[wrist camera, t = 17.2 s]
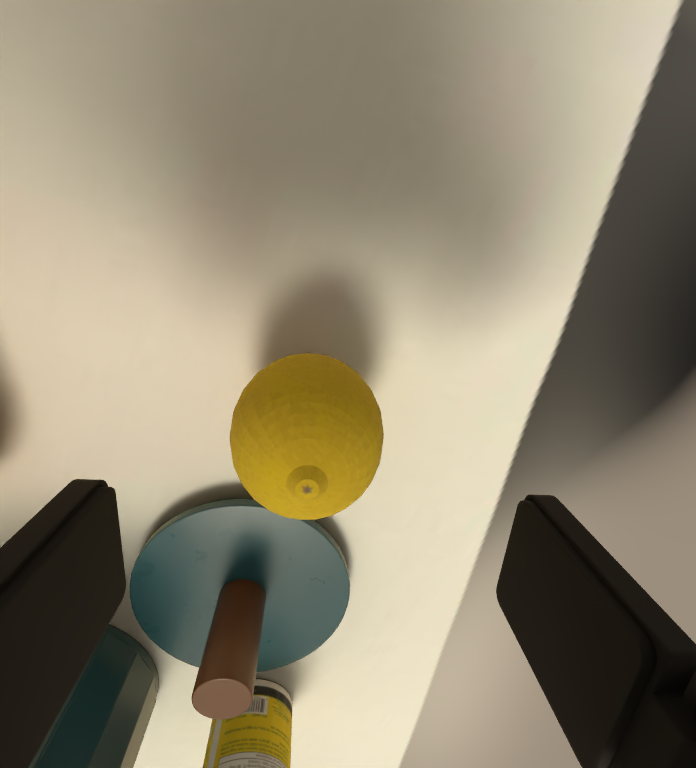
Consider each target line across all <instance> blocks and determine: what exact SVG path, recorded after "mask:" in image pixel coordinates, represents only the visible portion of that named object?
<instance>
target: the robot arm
mask: <svg viewBox="0 0 696 768" xmlns="http://www.w3.org/2000/svg"><path fill="white" fill-rule="evenodd" d="M125 589H126V578H125V570H124V561H123V553H122V544H121V535H120V527H119V518H118V510H117V501H116V493H115V490H114V488H112V487H108V485H107V483H106V481H104V480H87V479H76V480H73V481H71V482H70V483H69V484H68V485H67V486H66V487H65V488H64V489H63V490H61V491H60V492H59V493H58V494H57V495H56V496H55V497H54V498H53V499H52V500H51V501H50V502H49V503H48V504H47V505H46V506H44V507H43V508H42V509H41V510H40V511H39V512H38V513H37V514H36V515H35V516H34V517H33V518H32V519H31V520H30V521H29V522H27V523H26V524H25V525H24V526H23V527H22V528H21V529H20V530H19V531H18V532H17V533H16V534H15V535H14V536H13V537H11V538H10V539H9V540H8V541H7V542H6V543H5V544H4V545H3V546H2V547H1V548H0V768H29V766H30V764H31V762H32V760H33V759H34V757H35V755H36V753H37V752H38V750H39V748H40V746H41V744H42V743H43V741H44V739H45V737H46V735H47V734H48V732H49V730H50V728H51V727H52V725H53V723H54V721H55V719H56V718H57V716H58V714H59V712H60V710H61V709H62V707H63V705H64V703H65V701H66V700H67V698H68V696H69V694H70V693H71V691H72V689H73V687H74V685H75V684H76V682H77V680H78V678H79V676H80V675H81V673H82V671H83V669H84V668H85V666H86V664H87V662H88V660H89V659H90V657H91V655H92V653H93V651H94V650H95V648H96V646H97V644H98V643H99V641H100V639H101V637H102V635H103V634H104V632H105V630H106V628H107V626H108V625H109V623H110V621H111V619H112V618H113V616H114V614H115V612H116V610H117V609H118V607H119V605H120V603H121V601H122V599H123V596H124V593H125ZM496 593H497V599H498V602H499V605H500V607H501V609H502V611H503V613H504V615H505V617H506V619H507V621H508V623H509V625H510V627H511V629H512V631H513V633H514V634H515V637H516V639H517V641H518V642H519V645H520V646H521V648H522V650H523V652H524V654H525V656H526V658H527V660H528V662H529V664H530V666H531V668H532V670H533V672H534V674H535V676H536V678H537V680H538V682H539V684H540V686H541V688H542V690H543V692H544V694H545V696H546V698H547V700H548V702H549V704H550V706H551V708H552V710H553V711H554V714H555V716H556V718H557V720H558V722H559V724H560V726H561V727H562V730H563V732H564V734H565V735H566V737H567V739H568V741H569V743H570V745H571V747H572V749H573V751H574V753H575V755H576V757H577V759H578V761H579V763H580V765H581V766H582V768H696V644H695V643H694V642H693V641H692V640H691V639H690V638H689V637H688V635H687V634H686V633H685V632H684V631H683V630H682V629H681V628H680V627H679V626H678V625H677V624H676V623H675V622H674V621H673V620H672V619H671V618H670V617H669V615H668V614H667V613H666V612H665V611H664V610H663V609H662V608H661V607H660V606H659V605H658V604H657V603H656V602H655V601H654V600H653V599H652V598H651V597H650V596H649V594H647V592H646V591H645V590H644V589H643V588H641V586H640V585H639V584H638V583H637V582H636V581H635V580H634V579H633V578H632V577H631V576H630V574H629V573H627V571H626V570H625V569H624V568H622V566H621V565H620V564H619V563H618V562H617V561H616V560H615V559H614V558H613V557H612V556H611V555H610V554H609V552H607V550H606V549H605V548H604V547H603V546H602V545H601V544H600V543H599V542H598V541H597V540H596V539H595V538H594V537H593V536H592V535H591V534H590V532H589V531H587V529H586V528H585V527H584V526H583V525H582V524H581V523H580V522H579V521H578V520H577V519H576V518H575V517H574V516H573V515H572V514H571V512H570V511H569V510H568V509H567V508H566V507H565V506H564V505H563V504H562V503H561V502H560V501H559V500H558V499H557V498H556V497H554V496H551V495H528V496H526V498H525V500H524V501H520V502H519V504H518V506H517V510H516V514H515V518H514V522H513V525H512V529H511V533H510V537H509V541H508V545H507V549H506V553H505V556H504V561H503V564H502V568H501V572H500V576H499V580H498V584H497V589H496Z"/></svg>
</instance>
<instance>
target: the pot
mask: <svg viewBox="0 0 696 768" xmlns="http://www.w3.org/2000/svg"><path fill="white" fill-rule="evenodd" d="M157 691H158V675H157V670H156V667H155V665H154V662H153V661H152V659H151V657H150V656H149V654H148V653H147V652H146V650H145V649H144V648H143V647H142V646H141V645H140V644H139V643H138V642H137V641H136V640H134V639H133V638H132V637H130V636H129V635H127V634H126V633H124V632H122V631H121V630H119V629H117V628H115V627H113V626H111V625H108V626H107V628H106V630H105V632H104V634H103V635H102V637H101V639H100V641H99V643H98V644H97V646H96V648H95V650H94V651H93V653H92V655H91V657H90V659H89V660H88V662H87V664H86V666H85V668H84V669H83V671H82V673H81V675H80V676H79V678H78V680H77V682H76V684H75V685H74V687H73V689H72V691H71V693H70V694H69V696H68V698H67V700H66V701H65V703H64V705H63V707H62V709H61V710H60V712H59V714H58V716H57V718H56V719H55V721H54V723H53V725H52V727H51V728H50V730H49V732H48V734H47V735H46V737H45V739H44V741H43V743H42V744H41V746H40V748H39V750H38V752H37V753H36V755H35V757H34V759H33V760H32V762H31V764H30V766H29V768H133V766H134V763H135V761H136V758H137V755H138V752H139V749H140V746H141V743H142V740H143V737H144V734H145V731H146V729H147V726H148V723H149V720H150V717H151V714H152V711H153V708H154V705H155V702H156V696H157Z"/></svg>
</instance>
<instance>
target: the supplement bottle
mask: <svg viewBox="0 0 696 768" xmlns="http://www.w3.org/2000/svg"><path fill="white" fill-rule="evenodd" d="M291 729H292V701H291V698H290V696H289V694H288V692H287V691H286V690H285V689H284V688H283V687H281V686H280V685H278V684H276V683H273V682H270V681H267V680H261V679H255V685H254V693H253V700H252V703H251V705H250V707H249V708H248V709H247V710H246V711H245V712H244V713H242V714H241V715H239V716H237V717H234V718H230V719H212V724H211V729H210V734H209V739H208V744H207V749H206V754H205V759H204V764H203V768H290V758H291Z"/></svg>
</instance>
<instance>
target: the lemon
mask: <svg viewBox="0 0 696 768" xmlns="http://www.w3.org/2000/svg"><path fill="white" fill-rule="evenodd" d="M230 444H231V451H232V459H233V464H234V468H235V470H236V472H237V474H238V476H239V479H240V481H241V483H242V485H243V487H244V488H245V489H246V490H247V491H248V493H249V494H250V495H251V496H252V497H253V499H254V500H256V501H257V502H258V503H259V504H261V505H262V506H264V507H265V508H266V509H268V510H269V511H271V512H273V513H276V514H278V515H280V516H283V517H287V518H292V519H298V520H314V519H320V518H324V517H328V516H332V515H334V514H336V513H338V512H340V511H342V510H344V509H346V508H347V507H348V506H349V505H351V504H352V503H353V502H354V501H356V500H357V499H358V498H359V497H360V496H361V495H362V494H363V493H364V491H365V490H366V489H367V487H368V486H369V485H370V483H371V482H372V480H373V477H374V475H375V473H376V470H377V468H378V466H379V463H380V459H381V452H382V444H383V426H382V419H381V412H380V408H379V406H378V404H377V402H376V399H375V397H374V395H373V393H372V391H371V389H370V387H369V386H368V385H367V384H366V383H365V381H364V380H363V379H362V378H361V376H360V375H359V374H358V373H357V372H356V371H354V370H353V369H352V368H350V367H349V366H347V365H346V364H345V363H343V362H342V361H339V360H337V359H334V358H332V357H329V356H326V355H320V354H312V353H304V354H295V355H289V356H287V357H284V358H281V359H279V360H276V361H274V362H272V363H271V364H270V365H268V366H267V367H265V368H264V369H262V370H261V371H259V372H258V373H257V374H256V375H255V376H254V378H253V379H252V380H251V381H250V382H249V384H248V385H247V386H246V387H245V388H244V390H243V392H242V394H241V396H240V398H239V400H238V403H237V405H236V407H235V409H234V412H233V418H232V425H231V432H230Z"/></svg>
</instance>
